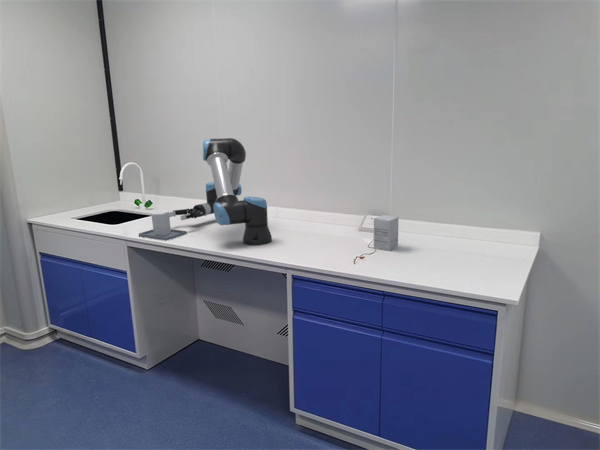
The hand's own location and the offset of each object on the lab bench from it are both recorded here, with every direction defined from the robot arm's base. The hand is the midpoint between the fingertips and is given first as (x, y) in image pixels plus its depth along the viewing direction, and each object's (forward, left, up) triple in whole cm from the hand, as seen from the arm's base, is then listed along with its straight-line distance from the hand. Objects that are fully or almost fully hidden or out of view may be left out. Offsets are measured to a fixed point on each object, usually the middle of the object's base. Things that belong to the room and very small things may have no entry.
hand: (173, 216), depth 245 cm
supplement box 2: (-109, -54, -9) cm, 122 cm away
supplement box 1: (-1, +8, -9) cm, 12 cm away
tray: (-1, +8, -9) cm, 12 cm away
